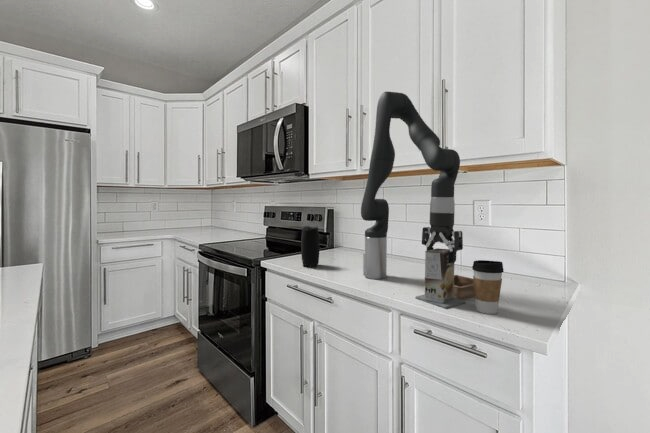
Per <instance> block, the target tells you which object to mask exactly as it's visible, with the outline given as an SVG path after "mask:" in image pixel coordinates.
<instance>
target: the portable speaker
mask: <svg viewBox="0 0 650 433" xmlns="http://www.w3.org/2000/svg"><path fill="white" fill-rule="evenodd" d="M300 239H301V240H300V244H301V247H300V248H301V250H300V251H301V252H300V253H301V260H302V261H301V262H302V267H305V266H308V267H309V268H316V267H317V266H318V265H319V264H320V263H319V260H320V234H319V226H315V225H314V226H309V225H304V226H302V230H301V237H300Z"/></svg>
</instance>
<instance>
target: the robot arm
mask: <svg viewBox="0 0 650 433" xmlns="http://www.w3.org/2000/svg"><path fill="white" fill-rule="evenodd" d="M375 115H376V116H375V127H374V128H375V129H374V137H373V138H374V139H373V144H372V151H371V154H370V160H369V161H370V162H369V169H368V175H367V180H366V186H365V190H364V193H363V198H362V200H361V206H360V216H361V218H362V219H363V220H364V221H366V222H367V221H368V222H370V221H371V222H373V221H375V223H374V224H373V225H372V226H371V227H369V228H366V229H365V231H364V253H363V261H362V262H363V265H362V266H363V268H362V269H363V270H362V272H363V273H362V274H363V276H364V277H365V278H367V279H371V280H373V279H374V280H381V279H386V278H387V256H388V255H387V245H388V240H387V239H388V235H387V234H388V229H389V219H390V218H389V216H390V207H389V203H388V201H387V200H386V199H384V198H376V197H377V194H378V191H379V189H380V187H382V185H383V184H384V183H385V181H386V180H387V179H388V177H389V176H390V175H391V173H392V172H393V169H394V163H395V159H396V151H395V146H394V143H393V141H392V139H391V133H390V129H391V128H390V127H391V121H392V119H395V120H397V119H400V121H402V122H404V123H405V124H406V126H407V127H408V128H407V129H408V134H409V138H410V140H411V142H412V143H413V144H414V145H415V146H416V148H417V149H418V150H419V151H420V152H421V155H422V158H423V160H424V161H425V163H426V165H427V167H428V168H430V169H431V170H433V171H437V172H438V171H439V176H438V177H437V178H435V179H433V180H432V181H431V188H430V189H431V190H430V202H429V225H430V226H427V227H425V226H424V227H423V228H422V230H421V231H422V232H421V244H422V245H423V246H425V247H426V251H428V250H432V249H435V248H434V246H435V244H436V243H438V242H439V243H441V244H444V245H445V246H446V247H447V249H449V250H450V252H449V263H454V264H455V263H456V262H457V252H458V251H462V250H463V249H464V246H463V245H464V244H463V241H464V240H463V238H464V237H463V231H462V230H454V225H455V208H456V207H455V206H456V203H455V183H456V181H457V177H458V174H459V170H460V166H461V165H460V164H461V158H460V155H459V153H458V152H457V151H456V150H455V149H449V148H443V147H441V146H440V145H441V140H440V138H439V136H438V135H437V134H436V133H435V132H434V131H433V130H432V129H431V128H430V127H429V126H428V124H426V122H425V121H424V119H423V118H422V117H421V115H420V113H419V112H418V111H417V109H416V107H415V105H414V104H413V102H412V100H411V98H410V97H409V96H408V95H407V94H406V93H403V92H397V91H383V93H382V94H380V96H379V98H378V101H377V104H376V114H375Z"/></svg>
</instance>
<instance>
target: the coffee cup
mask: <svg viewBox="0 0 650 433" xmlns="http://www.w3.org/2000/svg"><path fill="white" fill-rule="evenodd" d="M471 267H472V268H471V270H472V271H473V278H472V279H474V292H475V296H474V302H475V303H474V304H475V311H477V312H479V313H481V314H487V315H495V314H497V313H498V312H499V303H500V296H501V288H502V284H503V283H502V281H503V278H502V276H503V273H505V272H504V264H503V262H502V261H497V260H486V259H485V260H483V259H482V260H481V259H479V260H473V264H472V266H471Z"/></svg>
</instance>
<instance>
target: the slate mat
mask: <svg viewBox="0 0 650 433" xmlns="http://www.w3.org/2000/svg"><path fill="white" fill-rule="evenodd" d="M424 297H425V293H423V294H421V295H416V296H415V299H417V300H419V301H422V302H425V303H428V304H431V305H433V306H437V307H440V308H442V309H445V310H446V309H448V308H452V307H455V306H456V307H457V306H460V305H464V304H466V303H467V302H466V300H465V299H462V300H460V299H457V298H454V297H453V298H451V299H450V300H448V301H446V302H444V303H438V302H433V301H429V300H425V299H424Z"/></svg>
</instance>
